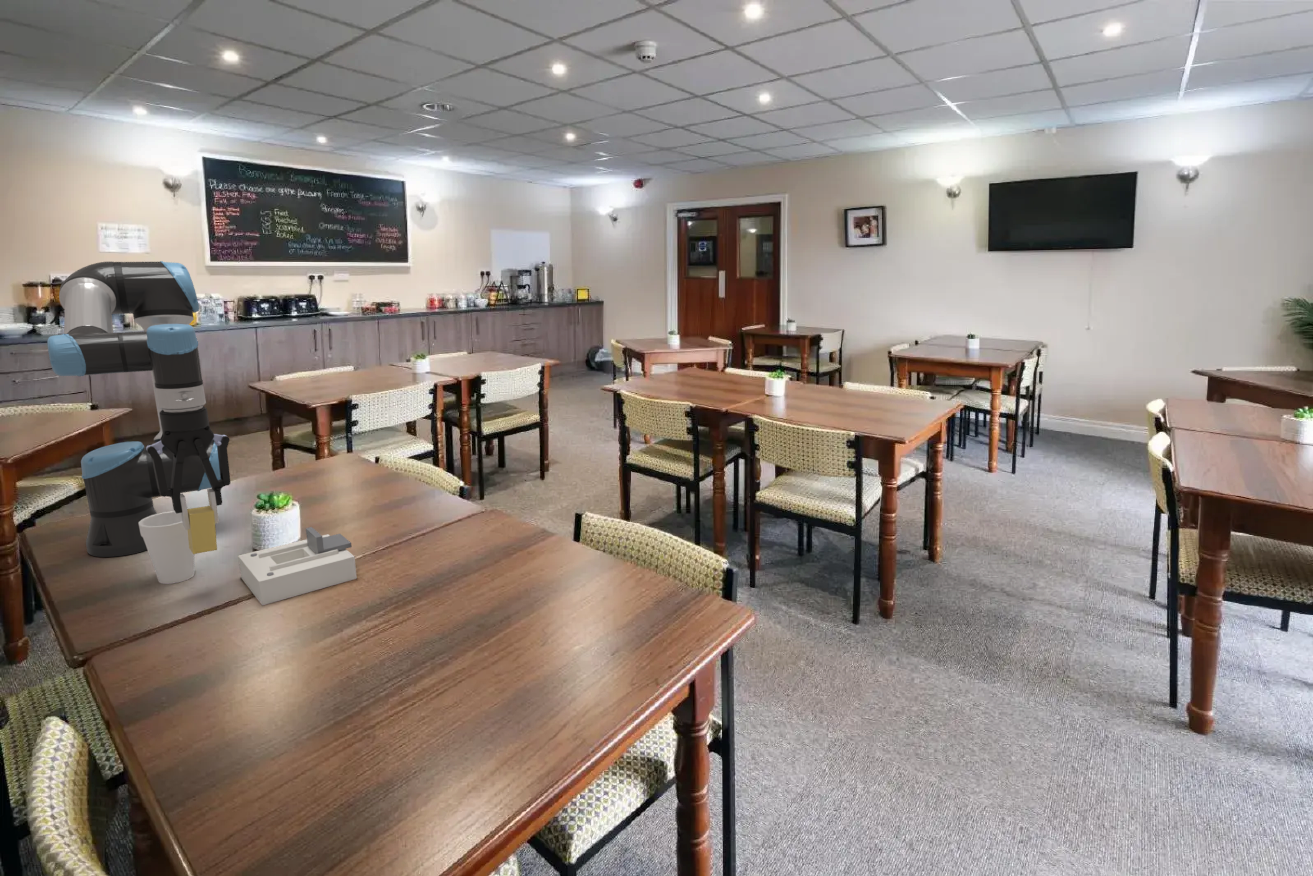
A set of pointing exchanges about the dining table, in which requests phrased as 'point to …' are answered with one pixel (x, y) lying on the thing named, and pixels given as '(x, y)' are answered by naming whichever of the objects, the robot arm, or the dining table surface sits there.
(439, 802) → the dining table surface
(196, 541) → the plug
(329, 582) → the socket
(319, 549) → the shutter
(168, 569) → the foam cup
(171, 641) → the dining table surface
